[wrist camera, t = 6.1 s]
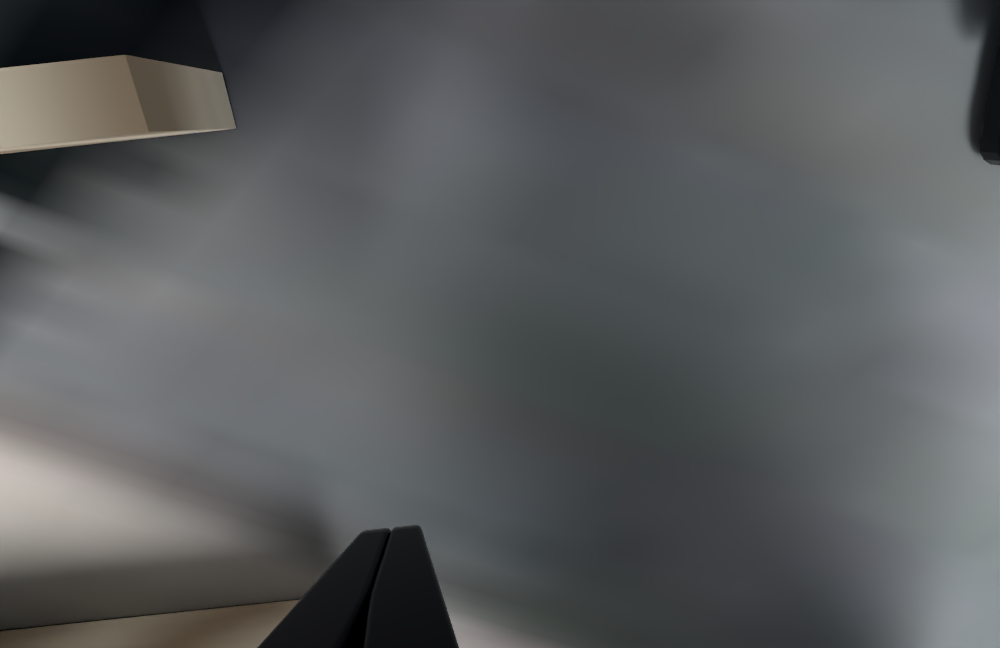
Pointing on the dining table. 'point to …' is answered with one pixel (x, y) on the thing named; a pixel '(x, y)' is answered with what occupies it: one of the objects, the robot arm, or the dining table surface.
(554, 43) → the dining table surface
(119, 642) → the charging rails
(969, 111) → the dining table surface
